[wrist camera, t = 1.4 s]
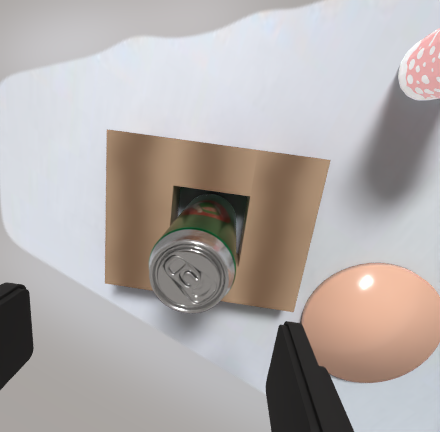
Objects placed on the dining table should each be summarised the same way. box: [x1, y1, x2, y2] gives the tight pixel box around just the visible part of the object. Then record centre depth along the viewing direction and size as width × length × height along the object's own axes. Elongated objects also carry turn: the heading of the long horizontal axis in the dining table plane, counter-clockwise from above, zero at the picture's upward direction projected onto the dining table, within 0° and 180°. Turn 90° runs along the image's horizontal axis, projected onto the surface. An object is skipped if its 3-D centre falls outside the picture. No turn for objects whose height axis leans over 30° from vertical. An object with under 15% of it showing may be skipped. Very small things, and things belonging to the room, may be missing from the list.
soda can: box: [149, 194, 236, 313], centre depth 19 cm, size 5×5×12 cm
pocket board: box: [105, 130, 330, 312], centre depth 24 cm, size 18×14×3 cm
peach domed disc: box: [301, 263, 440, 383], centre depth 27 cm, size 14×14×1 cm
